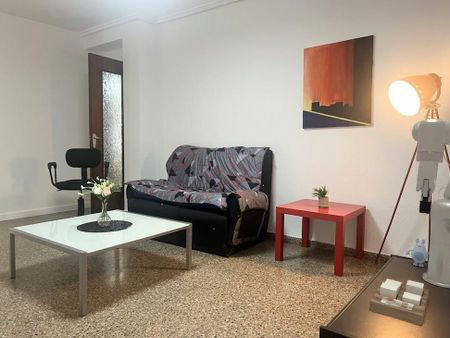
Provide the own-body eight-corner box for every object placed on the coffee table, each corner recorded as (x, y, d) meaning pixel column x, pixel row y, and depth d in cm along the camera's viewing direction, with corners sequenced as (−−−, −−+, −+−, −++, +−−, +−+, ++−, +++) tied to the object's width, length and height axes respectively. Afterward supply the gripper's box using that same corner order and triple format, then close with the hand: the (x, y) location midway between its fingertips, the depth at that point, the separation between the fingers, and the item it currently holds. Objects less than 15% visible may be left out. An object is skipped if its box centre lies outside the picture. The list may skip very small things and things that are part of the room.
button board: (383, 286, 122) (383, 277, 122) (428, 298, 114) (428, 288, 114) (369, 310, 104) (370, 299, 104) (421, 325, 96) (422, 314, 96)
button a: (386, 286, 119) (387, 278, 119) (400, 290, 117) (401, 282, 116) (383, 290, 116) (384, 282, 115) (398, 294, 113) (399, 286, 113)
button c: (382, 290, 113) (382, 282, 112) (397, 294, 110) (398, 286, 110) (379, 295, 109) (380, 286, 109) (395, 299, 106) (396, 290, 106)
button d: (403, 300, 109) (404, 291, 109) (420, 304, 106) (421, 295, 106) (401, 305, 105) (402, 296, 105) (418, 310, 103) (419, 301, 102)
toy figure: (403, 265, 146) (405, 237, 145) (405, 261, 151) (407, 234, 150) (432, 271, 140) (434, 242, 139) (433, 266, 145) (435, 239, 144)
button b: (407, 287, 115) (408, 279, 115) (423, 291, 113) (423, 283, 113) (405, 292, 112) (406, 284, 111) (421, 296, 109) (422, 288, 109)
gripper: (418, 156, 119) (414, 208, 120) (413, 157, 107) (408, 214, 108) (444, 157, 115) (439, 211, 116) (442, 158, 102) (436, 218, 104)
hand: (424, 212), depth 112 cm, fingers closed
